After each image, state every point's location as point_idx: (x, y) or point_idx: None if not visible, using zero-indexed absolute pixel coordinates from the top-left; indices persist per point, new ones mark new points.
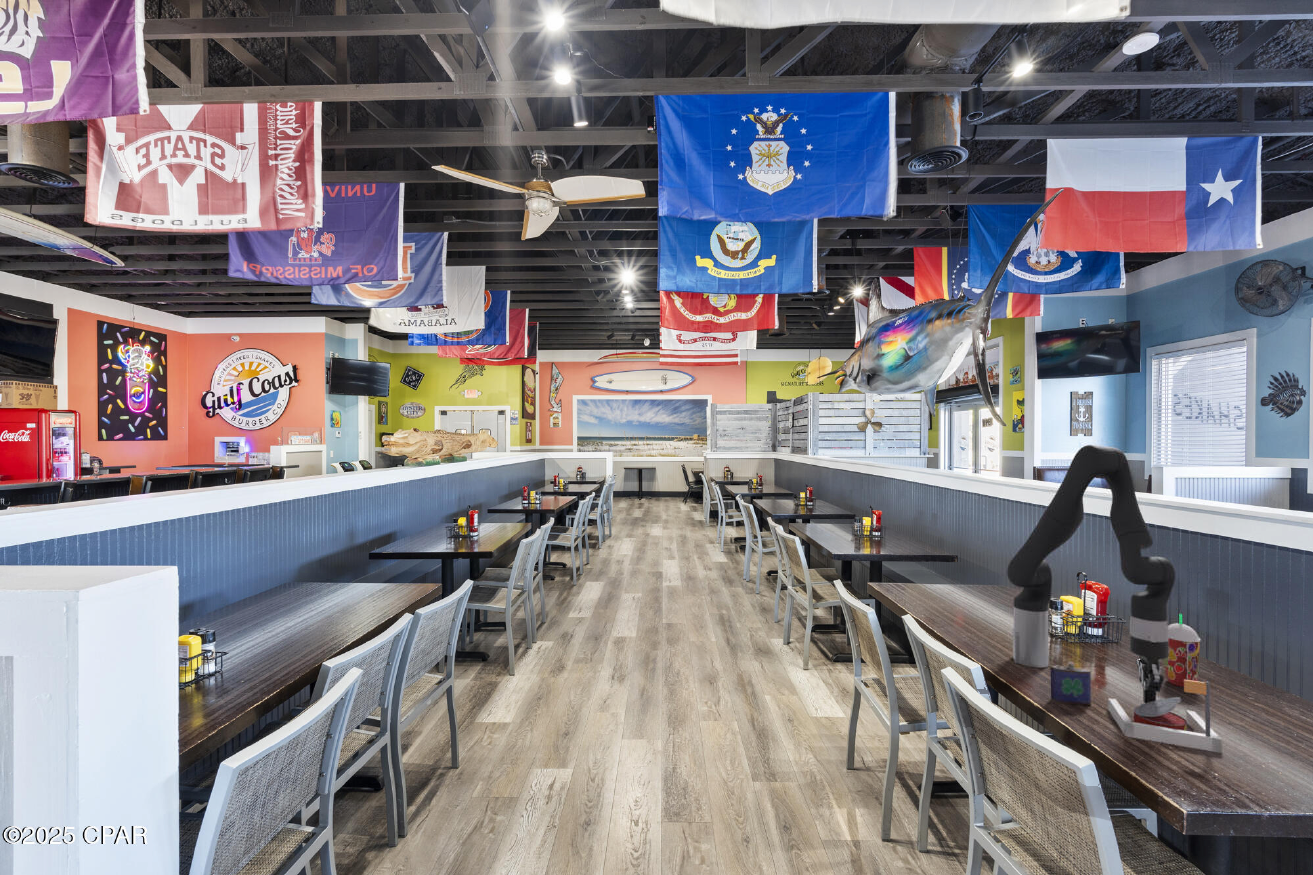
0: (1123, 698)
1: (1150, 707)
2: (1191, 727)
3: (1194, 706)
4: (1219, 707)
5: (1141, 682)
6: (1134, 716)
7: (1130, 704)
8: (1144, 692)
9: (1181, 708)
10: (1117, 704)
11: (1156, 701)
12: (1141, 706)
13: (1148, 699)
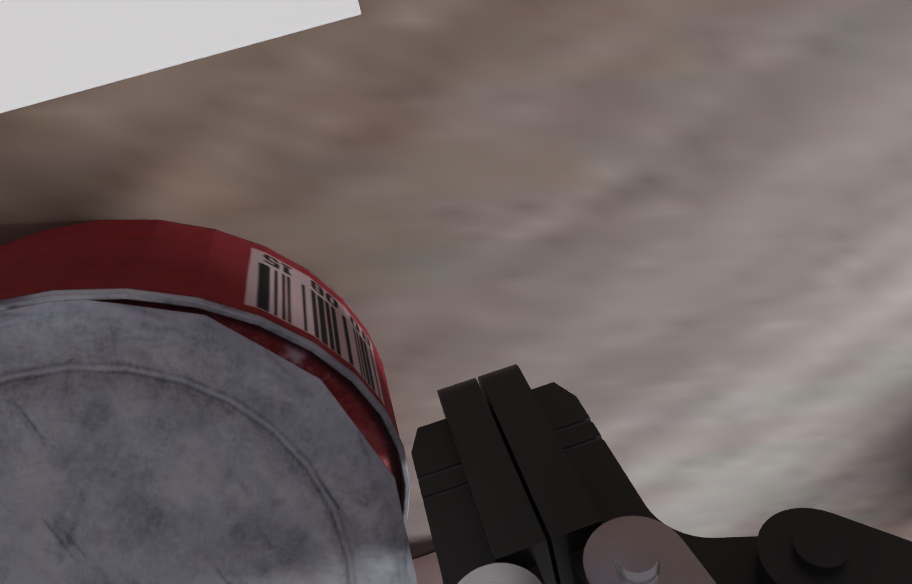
0: (885, 62)
1: (123, 525)
2: None
3: (878, 500)
4: None
5: (762, 531)
6: (11, 270)
7: (718, 141)
8: (504, 500)
9: (804, 459)
10: (54, 52)
11: (366, 572)
12: (231, 384)
13: (421, 482)
